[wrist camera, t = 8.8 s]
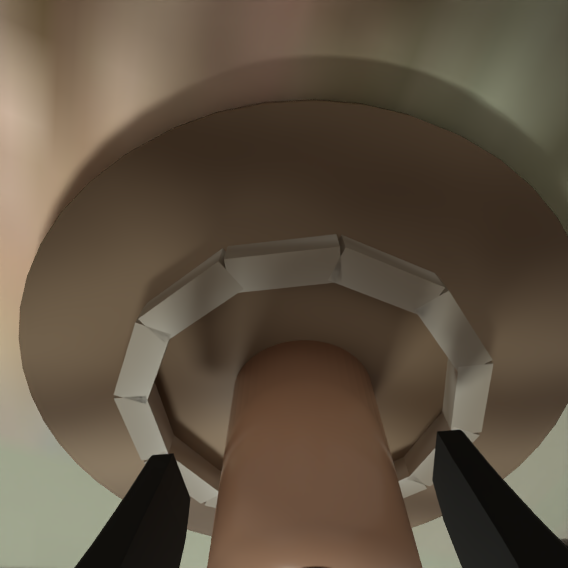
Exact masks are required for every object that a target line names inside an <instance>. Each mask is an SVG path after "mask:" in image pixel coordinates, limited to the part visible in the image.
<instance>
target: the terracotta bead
mask: <svg viewBox="0 0 568 568" xmlns="http://www.w3.org/2000/svg"><path fill="white" fill-rule="evenodd" d="M207 568H422V565H421V561H420V557H419V554H418V550H417V547H416V543H415V539H414V536H413V532H412V528H411V525H410V521H409V518H408V514H407V510H406V507H405V503H404V499H403V496H402V492H401V488H400V485H399V481H398V478H397V474H396V470H395V467H394V463H393V459H392V456H391V452H390V449H389V445H388V441H387V438H386V434H385V430H384V427H383V423H382V419H381V416H380V412H379V409H378V405H377V401H376V398H375V394H374V390H373V387H372V383H371V380H370V376H369V374H368V372H367V370H366V369H365V367H364V366H363V364H362V363H361V362H360V361H359V360H358V359H357V358H356V357H355V356H353V355H352V354H351V353H349V352H347V351H346V350H344V349H342V348H340V347H337V346H335V345H332V344H329V343H325V342H319V341H310V340H299V341H290V342H284V343H280V344H277V345H274V346H271V347H269V348H267V349H265V350H263V351H261V352H259V353H258V354H256V355H255V356H253V357H252V358H251V359H250V360H249V361H248V362H247V363H246V364H245V365H244V366H243V367H242V369H241V370H240V372H239V374H238V376H237V378H236V381H235V385H234V390H233V397H232V403H231V410H230V417H229V424H228V431H227V437H226V444H225V451H224V458H223V464H222V471H221V478H220V485H219V491H218V498H217V505H216V512H215V519H214V525H213V532H212V539H211V546H210V552H209V559H208V566H207Z"/></svg>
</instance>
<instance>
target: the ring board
mask: <svg viewBox="0 0 568 568" xmlns="http://www.w3.org/2000/svg"><path fill="white" fill-rule="evenodd" d="M299 340H310V341H319V342H325V343H329V344H332V345H335V346H337V347H340V348H342V349H344V350H346V351H347V352H349V353H351V354H352V355H353V356H355V357H356V358H357V359H358V360H359V361H360V362H361V363H362V364H363V366H364V367H365V369H366V370H367V372H368V374H369V376H370V380H371V383H372V387H373V390H374V394H375V398H376V401H377V405H378V409H379V412H380V416H381V419H382V423H383V427H384V430H385V434H386V438H387V441H388V445H389V449H390V452H391V456H392V459H393V463H394V467H395V470H396V474H397V478H398V481H399V485H400V488H401V492H402V496H403V499H404V503H405V507H406V510H407V514H408V518H409V521H410V525H411V528H412V527H415V526H418V525H421V524H424V523H427V522H429V521H431V520H434V519H436V518H438V517H440V516H442V513H441V509H440V506H439V503H438V499H437V495H436V492H435V488H434V485H433V481H432V477H433V467H434V456H435V446H436V436H437V431H448V430H462V431H463V432H464V433H465V434H466V436H467V437H468V438H469V439H470V441H471V442H472V443H473V444H474V446H475V447H476V448H477V449H478V450H479V452H480V453H481V454H482V455H483V456H484V458H485V459H486V460H487V461H488V462H489V464H490V465H491V466H492V467H493V468H494V469H495V471H496V472H497V473H498V474H499V475H500V476H501V478H502V479H504V478H505V477H506V476H508V475H509V474H510V473H511V472H512V471H514V470H515V469H516V468H517V467H519V466H520V465H521V464H522V463H523V462H524V461H525V460H526V458H527V457H528V456H529V455H530V454H531V453H532V452H533V451H534V450H535V449H536V448H537V447H538V446H539V445H540V444H541V442H542V441H543V440H544V438H545V437H546V436H547V435H548V433H549V432H550V431H551V429H552V428H553V427H554V425H555V424H556V423H557V421H558V419H559V417H560V416H561V414H562V412H563V411H564V409H565V407H566V405H567V404H568V236H567V234H566V232H565V231H564V229H563V227H562V225H561V223H560V222H559V220H558V218H557V217H556V215H555V214H554V213H553V212H552V210H551V209H550V208H549V207H548V206H547V204H546V203H545V202H544V201H543V199H542V198H541V197H540V196H539V194H538V193H537V192H536V191H535V190H534V188H533V187H532V186H531V185H529V184H528V183H527V182H526V181H525V180H524V179H522V178H521V177H520V176H519V175H518V174H517V173H515V172H514V171H513V170H512V169H511V168H510V167H508V166H507V165H506V164H505V163H504V162H503V161H501V160H500V159H498V158H497V157H495V156H493V155H492V154H490V153H488V152H487V151H485V150H483V149H482V148H480V147H478V146H477V145H475V144H473V143H472V142H470V141H468V140H467V139H465V138H463V137H462V136H459V135H457V134H455V133H452V132H450V131H448V130H445V129H443V128H440V127H438V126H435V125H433V124H430V123H428V122H425V121H423V120H420V119H418V118H415V117H413V116H410V115H408V114H404V113H400V112H395V111H391V110H387V109H383V108H378V107H374V106H370V105H366V104H361V103H349V102H338V101H326V100H314V99H313V100H295V101H278V102H264V103H259V104H254V105H249V106H244V107H240V108H235V109H230V110H225V111H220V112H216V113H214V114H211V115H208V116H205V117H203V118H200V119H197V120H194V121H192V122H189V123H186V124H183V125H181V126H178V127H175V128H173V129H171V130H169V131H167V132H166V133H164V134H162V135H160V136H158V137H156V138H155V139H153V140H151V141H149V142H147V143H145V144H143V145H142V146H140V147H138V148H136V149H134V150H133V151H131V152H129V153H128V154H126V155H124V156H123V157H122V158H121V159H119V160H118V161H117V162H115V163H114V164H113V165H111V166H110V167H109V168H107V169H106V170H105V171H104V172H102V173H101V174H100V175H98V176H97V177H96V178H94V179H93V180H92V181H91V182H89V183H88V184H87V186H86V187H85V188H84V189H83V190H82V191H81V192H80V193H79V194H78V195H77V196H76V197H75V198H74V199H73V200H72V202H71V203H70V204H69V205H68V206H67V207H66V208H65V209H64V210H63V211H62V212H61V214H60V215H59V217H58V218H57V220H56V221H55V223H54V224H53V226H52V228H51V229H50V231H49V232H48V234H47V235H46V237H45V238H44V240H43V241H42V243H41V245H40V247H39V249H38V252H37V254H36V256H35V259H34V261H33V263H32V266H31V268H30V271H29V273H28V275H27V279H26V283H25V288H24V292H23V297H22V301H21V306H20V322H19V344H20V351H21V359H22V366H23V370H24V374H25V377H26V380H27V383H28V386H29V390H30V393H31V396H32V398H33V400H34V402H35V404H36V406H37V408H38V410H39V412H40V414H41V416H42V418H43V420H44V422H45V423H46V425H47V426H48V428H49V429H50V431H51V432H52V434H53V435H54V437H55V438H56V440H57V441H58V443H59V444H60V445H61V446H62V447H63V448H64V450H65V451H66V452H67V453H68V454H69V455H70V456H71V457H72V459H73V460H74V461H75V462H76V463H77V464H78V465H79V466H80V467H81V468H82V469H84V470H85V471H86V472H87V473H88V474H89V475H90V476H91V477H92V478H94V479H95V480H96V481H97V482H98V483H100V484H101V485H103V486H104V487H105V488H107V489H108V490H109V491H111V492H112V493H114V494H115V495H116V496H118V497H119V498H121V499H123V498H124V497H125V495H126V494H127V492H128V491H129V489H130V488H131V486H132V484H133V483H134V481H135V480H136V478H137V477H138V475H139V474H140V472H141V470H142V469H143V467H144V466H145V464H146V463H147V461H148V459H149V458H150V457H151V456H152V455H159V454H171V453H174V456H175V459H176V461H177V464H178V467H179V469H180V472H181V474H182V477H183V480H184V482H185V485H186V488H187V490H188V493H189V496H190V498H191V499H190V508H189V517H188V525H187V529H188V530H190V531H194V532H198V533H201V534H205V535H209V536H212V532H213V525H214V519H215V512H216V505H217V498H218V491H219V485H220V478H221V471H222V464H223V458H224V451H225V444H226V437H227V431H228V424H229V417H230V410H231V403H232V397H233V390H234V385H235V381H236V378H237V376H238V374H239V372H240V370H241V369H242V367H243V366H244V365H245V364H246V363H247V362H248V361H249V360H250V359H251V358H252V357H253V356H255V355H256V354H258V353H259V352H261V351H263V350H265V349H267V348H269V347H271V346H274V345H277V344H280V343H284V342H290V341H299Z"/></svg>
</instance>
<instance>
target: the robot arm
mask: <svg viewBox="0 0 568 568" xmlns="http://www.w3.org/2000/svg"><path fill="white" fill-rule="evenodd" d="M432 481H433V485H434V488H435V492H436V495H437V499H438V503H439V506H440V509H441V513H442V516H443V520H444V522H445V525H446V528H447V530H448V533H449V535H450V538H451V540H452V543H453V546H454V548H455V551H456V553H457V556H458V558H459V561H460V563H461V566H462V568H568V547H567V546H566V545H565V544H564V543H563V542H562V541H561V540H560V539H559V538H558V537H557V536H556V535H555V534H554V533H553V532H552V531H551V530H550V529H549V528H548V527H547V526H546V525H545V524H544V523H543V522H542V521H541V520H540V519H539V518H538V517H537V516H536V515H535V514H534V513H533V512H532V510H531V509H530V508H529V507H528V506H527V505H526V504H525V503H524V502H523V501H522V500H521V499H520V498H519V496H518V495H517V494H516V493H515V492H514V491H513V490H512V489H511V488H510V487H509V485H508V484H507V483H506V482H505V481H504V480H503V479H502V478H501V476H500V475H499V474H498V473H497V472H496V471H495V469H494V468H493V467H492V466H491V465H490V464H489V462H488V461H487V460H486V459H485V458H484V456H483V455H482V454H481V453H480V452H479V450H478V449H477V448H476V447H475V446H474V444H473V443H472V442H471V441H470V439H469V438H468V437H467V436H466V434H465V433H464V432H463V431H462V430H448V431H437V436H436V446H435V456H434V467H433V477H432ZM190 499H191V498H190V496H189V493H188V490H187V488H186V485H185V482H184V480H183V477H182V474H181V472H180V469H179V467H178V464H177V461H176V459H175V456H174V453H171V454H159V455H152V456H151V457H150V458H149V459H148V461H147V463H146V464H145V466H144V467H143V469H142V470H141V472H140V474H139V475H138V477H137V478H136V480H135V481H134V483H133V484H132V486H131V488H130V489H129V491H128V492H127V494H126V495H125V497H124V498H123V500H122V501H121V503H120V504H119V506H118V507H117V509H116V510H115V512H114V513H113V515H112V516H111V518H110V519H109V520H108V522H107V523H106V525H105V526H104V528H103V529H102V531H101V532H100V534H99V535H98V536H97V538H96V539H95V541H94V542H93V543H92V545H91V546H90V548H89V549H88V550H87V552H86V553H85V554H84V556H83V557H82V558H81V560H80V561H79V562H78V564H77V565H76V566H75V568H179V566H180V562H181V557H182V553H183V549H184V544H185V539H186V532H187V525H188V517H189V508H190Z"/></svg>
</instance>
